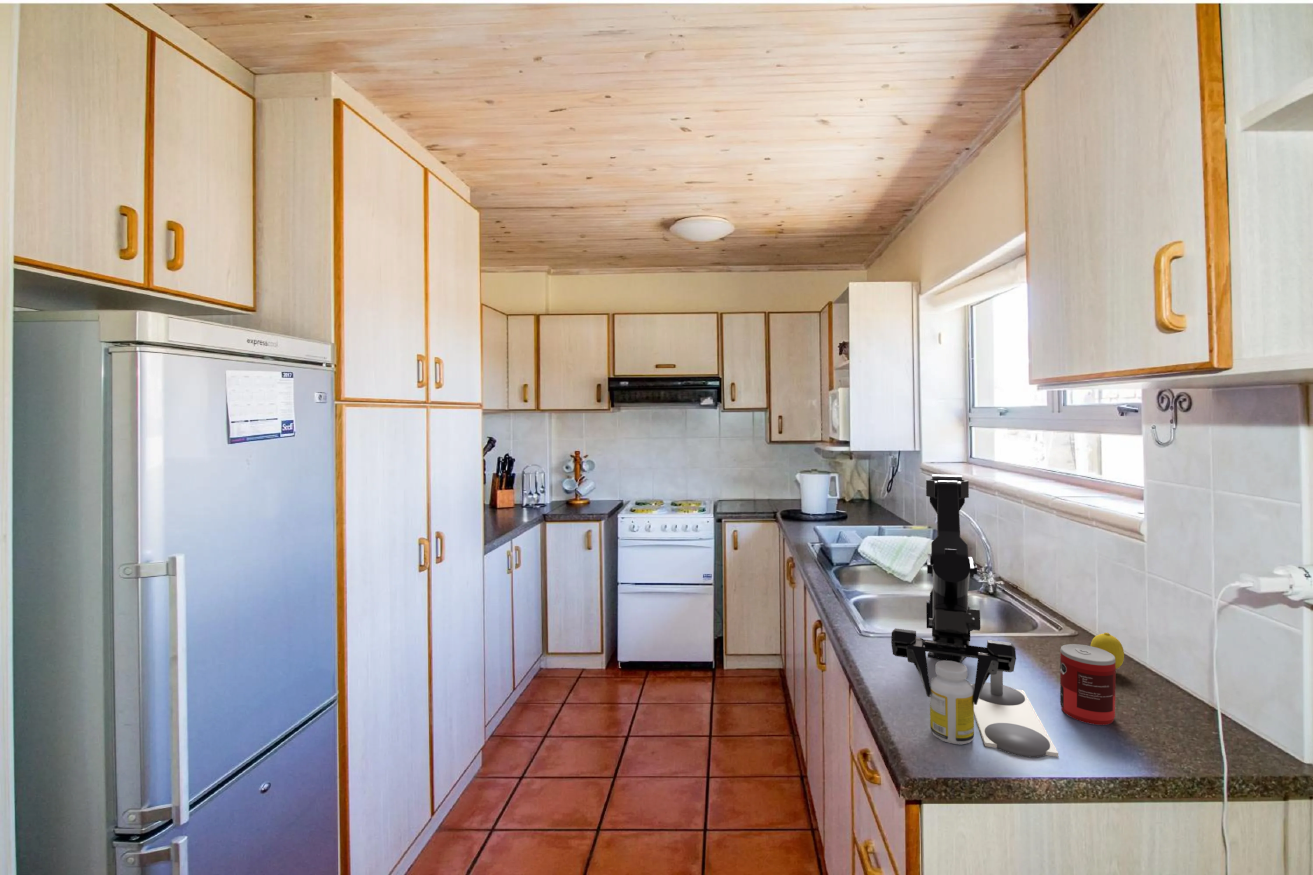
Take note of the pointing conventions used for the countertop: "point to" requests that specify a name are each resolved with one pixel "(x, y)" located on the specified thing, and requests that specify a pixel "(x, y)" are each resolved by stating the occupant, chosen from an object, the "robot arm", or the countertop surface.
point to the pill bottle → (951, 703)
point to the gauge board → (1010, 721)
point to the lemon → (1109, 646)
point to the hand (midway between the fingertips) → (951, 699)
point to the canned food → (1087, 684)
